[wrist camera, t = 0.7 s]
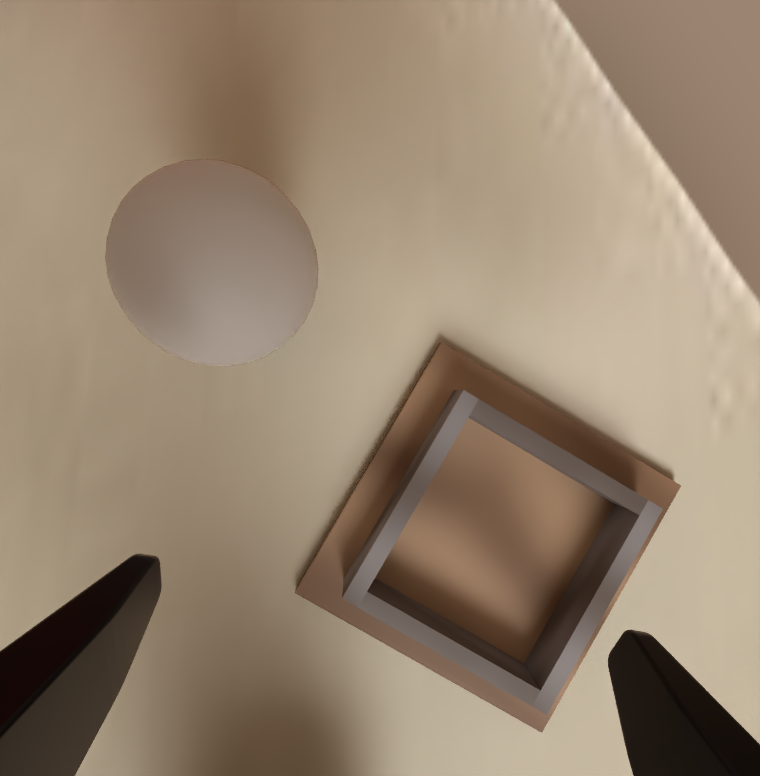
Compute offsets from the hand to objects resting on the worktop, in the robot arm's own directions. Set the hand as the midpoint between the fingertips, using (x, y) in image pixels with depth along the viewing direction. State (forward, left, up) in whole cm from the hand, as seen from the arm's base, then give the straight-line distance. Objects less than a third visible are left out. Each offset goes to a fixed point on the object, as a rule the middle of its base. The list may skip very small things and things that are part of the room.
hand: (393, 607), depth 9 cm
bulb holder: (0, -7, -14) cm, 15 cm away
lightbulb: (+4, +8, -14) cm, 17 cm away
